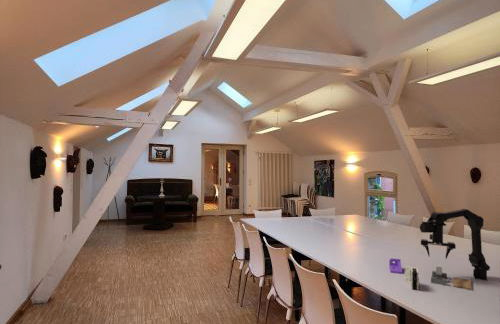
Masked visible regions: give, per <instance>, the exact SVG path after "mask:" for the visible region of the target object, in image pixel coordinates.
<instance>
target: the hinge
mask: <svg viewBox="0 0 500 324" xmlns="http://www.w3.org/2000/svg"><path fill="white" fill-rule="evenodd" d="M419 282H420V277H419V269H418V268H417V267H415V266H410V265H405V283H408V284H409V285H410V287H411V288H410V289H411V290H412V291H414V290H415V291H419Z"/></svg>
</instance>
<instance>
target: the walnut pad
mask: <svg viewBox="0 0 500 324" xmlns="http://www.w3.org/2000/svg"><path fill="white" fill-rule="evenodd" d="M452 285H453V286H452V287H453V288H457V289H463V290H468V291H469V290H470V291H472V290H473V286H472V280H471V279H466V278H460V277H458V278H457V277H453V284H452Z"/></svg>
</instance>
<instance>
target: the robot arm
mask: <svg viewBox="0 0 500 324" xmlns="http://www.w3.org/2000/svg"><path fill="white" fill-rule="evenodd" d="M460 217H463V218H464V219H465V220H466V221H467V224H468V226H469V228H470V232H471V248H472V249H471V250H472V251H471V253H468V261H469V263H470V264H471V267H473V268H474V269H472V271H473V273H472V274H473V278H474V279H476V280H482V281H488V272H487V271H490V269H491V267H490V266H489V264H488V263H487V262H486V257H485V256H484V254H483V251H482V233H481V230H482V228H483V227H484V218H483V217H482V216H481V215H478V214H476V213H474V212H472V211H471V210H470V209H467V208H461V209H456V210H451V211H445V212H444V211H443V212H442V211H434V212H432V213H431V214H430V217H429V218H428V220H427V221H425V220H424V221H423V220H422V221H421V223H420V224H419V231H420V232H421V233H426V234H427V233H428V234H429V233H430V234H429V240H432V241H429V240H428V239H423V238H421V239H420V245H421V246H422V247H424V248H425V249H426V252H427V256H428V257H430V249H429V245H432V246H440V247H446V251H445V259H446V260H447V259H448V256H449V254H450V252H451V251H452V250H454V249H455V250H456V247H457V246H456V243H455V242H452V241H447V242H444V227H446V226H447V224H446V222H447V221H448V220H451V219H454V218H455V219H456V218H460ZM431 233H432V234H431Z"/></svg>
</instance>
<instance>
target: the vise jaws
mask: <svg viewBox="0 0 500 324" xmlns="http://www.w3.org/2000/svg"><path fill="white" fill-rule="evenodd" d="M431 274H432V275H431V277H430V283H431V284H435V285H441V286H447V279H448V273H447V272H442V279H441V278H436V270H432V272H431Z"/></svg>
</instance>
